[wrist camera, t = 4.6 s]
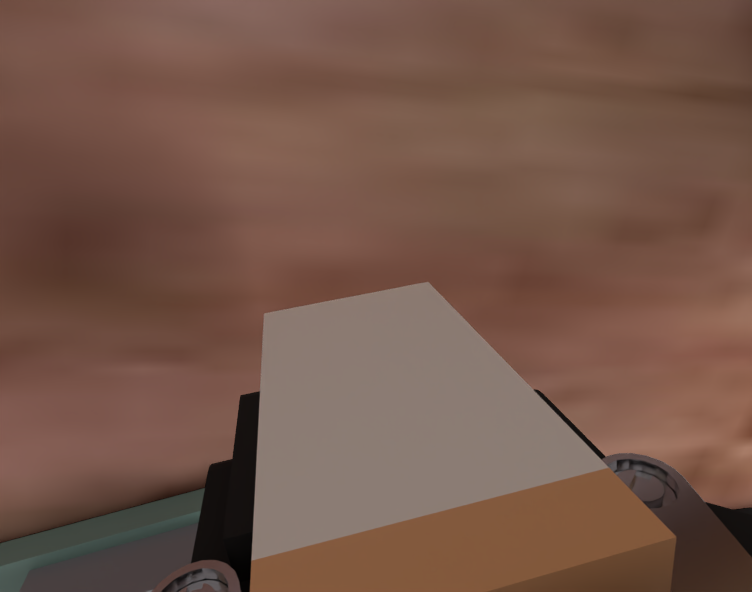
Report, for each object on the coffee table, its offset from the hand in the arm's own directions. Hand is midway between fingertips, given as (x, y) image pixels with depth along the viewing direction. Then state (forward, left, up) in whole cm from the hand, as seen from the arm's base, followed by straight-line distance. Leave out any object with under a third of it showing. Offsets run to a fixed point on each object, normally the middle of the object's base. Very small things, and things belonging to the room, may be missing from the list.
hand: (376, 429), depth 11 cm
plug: (0, 0, -2) cm, 2 cm away
